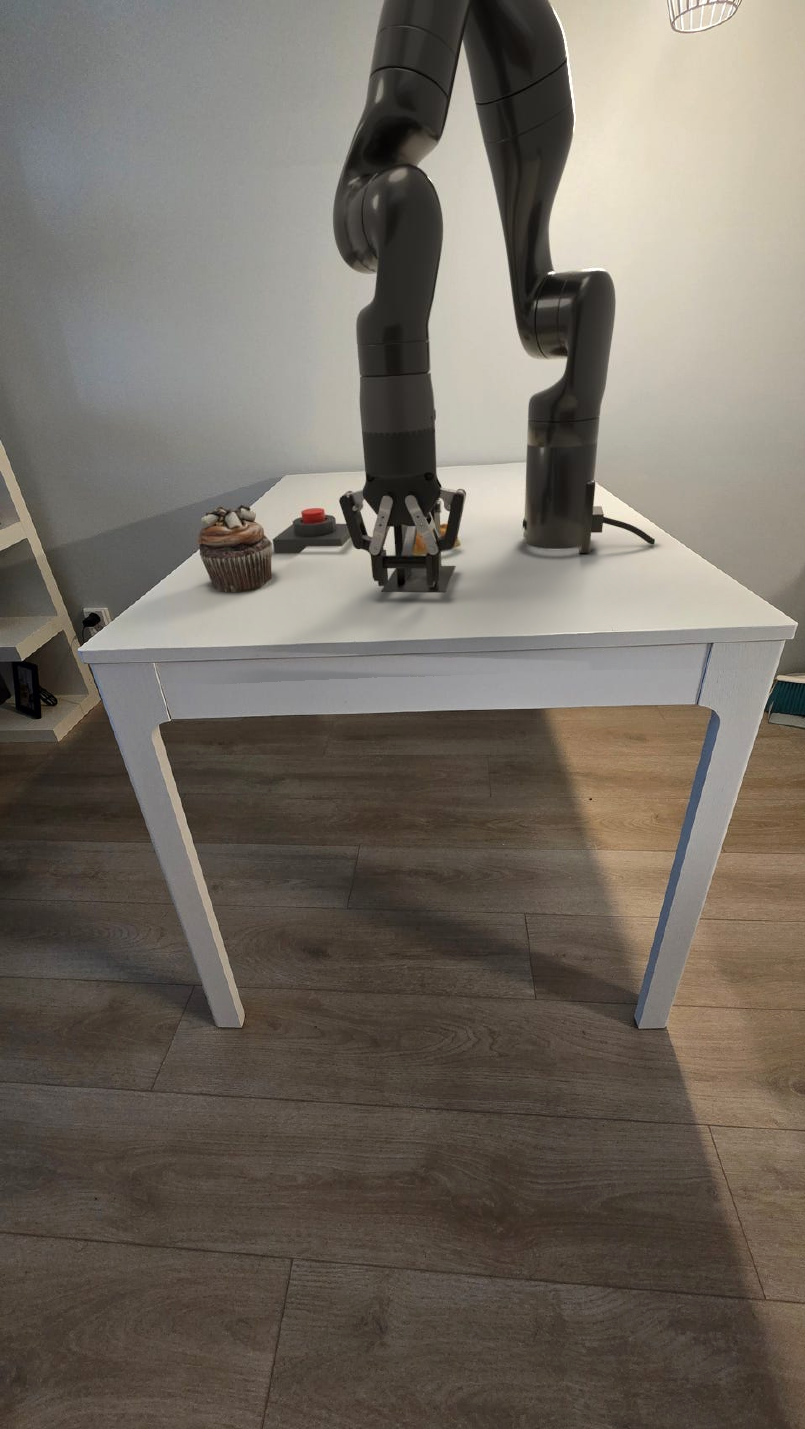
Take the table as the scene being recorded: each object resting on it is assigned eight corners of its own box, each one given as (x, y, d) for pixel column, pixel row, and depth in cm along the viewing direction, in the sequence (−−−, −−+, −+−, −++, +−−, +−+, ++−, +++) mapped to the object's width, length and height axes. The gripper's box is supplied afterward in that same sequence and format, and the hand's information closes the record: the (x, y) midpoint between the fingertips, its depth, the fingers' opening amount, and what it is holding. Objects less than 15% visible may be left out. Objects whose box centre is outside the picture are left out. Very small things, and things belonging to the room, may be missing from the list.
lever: (428, 574, 73) (425, 559, 71) (385, 574, 74) (381, 559, 72) (439, 506, 78) (437, 490, 76) (399, 507, 79) (396, 491, 77)
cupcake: (197, 596, 84) (179, 519, 79) (219, 572, 93) (204, 501, 88) (268, 593, 84) (255, 515, 79) (284, 570, 92) (273, 498, 87)
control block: (357, 537, 105) (355, 512, 103) (342, 553, 97) (339, 526, 95) (294, 537, 107) (290, 513, 105) (274, 553, 99) (270, 527, 97)
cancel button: (328, 519, 101) (327, 507, 101) (321, 525, 98) (320, 513, 98) (306, 519, 102) (305, 508, 101) (299, 525, 99) (297, 513, 98)
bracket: (445, 601, 77) (443, 500, 71) (381, 600, 79) (373, 501, 73) (456, 574, 86) (454, 482, 80) (397, 574, 87) (391, 483, 81)
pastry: (415, 567, 89) (413, 539, 87) (385, 558, 94) (383, 532, 92) (464, 552, 94) (464, 525, 92) (434, 544, 99) (433, 519, 97)
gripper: (319, 432, 64) (338, 595, 72) (464, 426, 61) (465, 596, 69) (340, 422, 70) (355, 573, 79) (472, 416, 67) (473, 574, 76)
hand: (407, 583), depth 74 cm, fingers closed on lever, 5 cm apart
